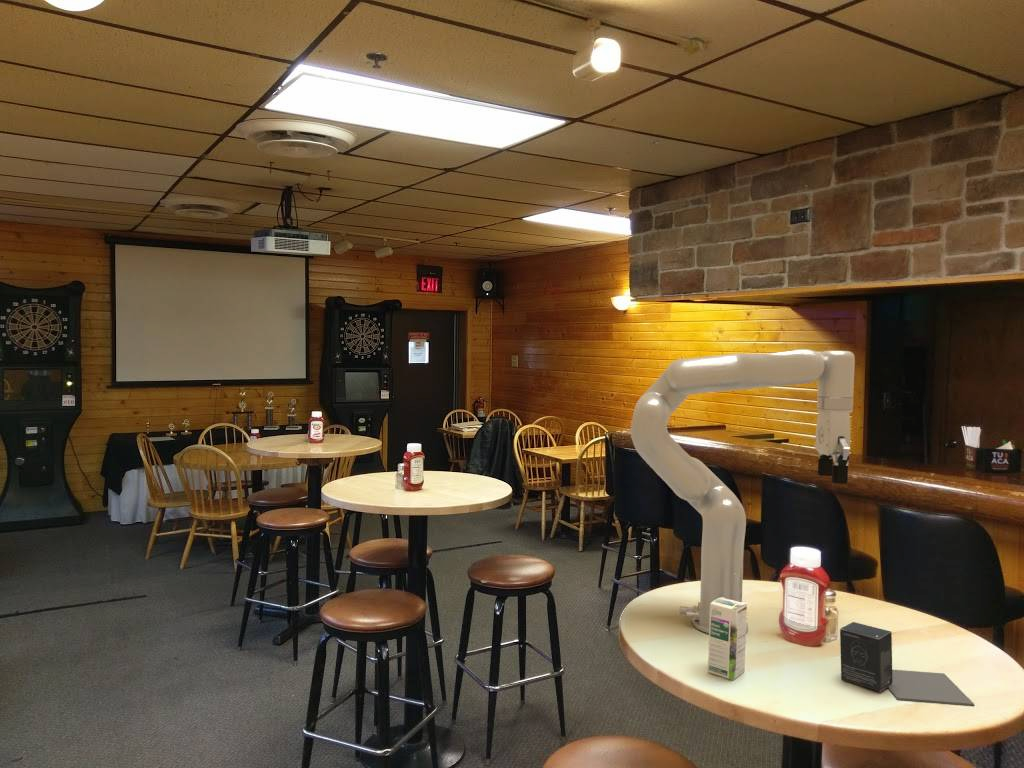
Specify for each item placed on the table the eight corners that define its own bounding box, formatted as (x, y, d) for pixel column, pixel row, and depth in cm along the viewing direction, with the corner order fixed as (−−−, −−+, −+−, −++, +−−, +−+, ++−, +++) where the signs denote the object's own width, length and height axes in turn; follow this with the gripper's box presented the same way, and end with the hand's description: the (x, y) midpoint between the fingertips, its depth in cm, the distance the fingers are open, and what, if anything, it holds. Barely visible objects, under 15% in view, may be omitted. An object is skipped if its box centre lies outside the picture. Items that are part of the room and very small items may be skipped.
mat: (897, 699, 140) (897, 697, 140) (873, 670, 153) (874, 668, 153) (974, 706, 138) (974, 703, 138) (944, 675, 151) (944, 673, 151)
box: (893, 683, 145) (892, 630, 145) (879, 692, 142) (879, 638, 141) (853, 671, 151) (852, 620, 151) (840, 679, 148) (839, 627, 147)
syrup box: (706, 672, 150) (708, 602, 149) (719, 663, 155) (721, 595, 154) (733, 681, 146) (735, 609, 146) (745, 671, 151) (748, 602, 150)
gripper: (806, 401, 177) (803, 472, 178) (830, 407, 160) (827, 486, 161) (838, 402, 176) (836, 473, 177) (866, 408, 159) (863, 487, 160)
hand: (832, 479), depth 169 cm, fingers open, 9 cm apart
